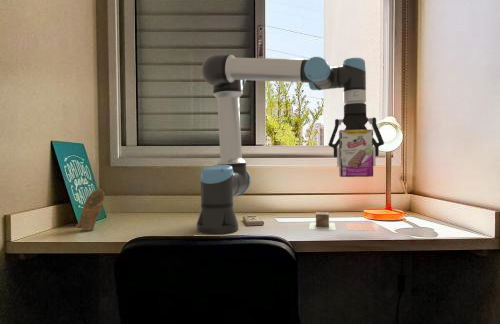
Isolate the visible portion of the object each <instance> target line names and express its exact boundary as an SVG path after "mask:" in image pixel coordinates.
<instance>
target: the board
mask: <svg viewBox="0 0 500 324" xmlns="http://www.w3.org/2000/svg"><path fill="white" fill-rule="evenodd" d="M345 226H346V229H347V231H357V232H358V231H361V232H362V231H365V232H367V231H369V232H370V231H371V232H376V231H377V230H376V229H375V228H374V226H373V225H372V223H349V222H348V223H345ZM308 229H309V230H324V231H325V230H327V231H329V230H330V231H331V230H333V231H336V230H337V228H336V223H335V222H329V227H316V222H309V226H308Z"/></svg>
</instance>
